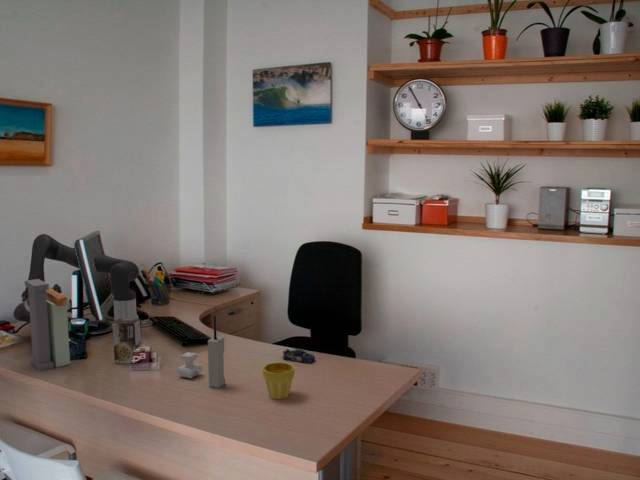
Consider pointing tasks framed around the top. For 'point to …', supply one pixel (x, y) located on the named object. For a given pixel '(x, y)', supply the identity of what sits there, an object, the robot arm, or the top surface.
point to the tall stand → (39, 324)
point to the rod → (56, 297)
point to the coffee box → (126, 339)
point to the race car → (298, 356)
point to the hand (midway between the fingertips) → (45, 287)
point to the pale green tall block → (58, 334)
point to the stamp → (189, 366)
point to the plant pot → (278, 379)
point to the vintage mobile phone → (216, 360)
